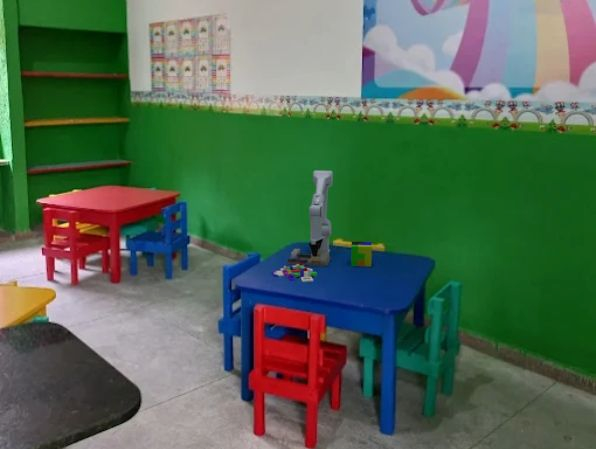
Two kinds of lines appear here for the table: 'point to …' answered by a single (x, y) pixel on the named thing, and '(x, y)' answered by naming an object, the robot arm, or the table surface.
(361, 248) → the puzzle toy
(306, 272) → the building block set
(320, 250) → the housing
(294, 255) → the ram
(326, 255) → the press bed
